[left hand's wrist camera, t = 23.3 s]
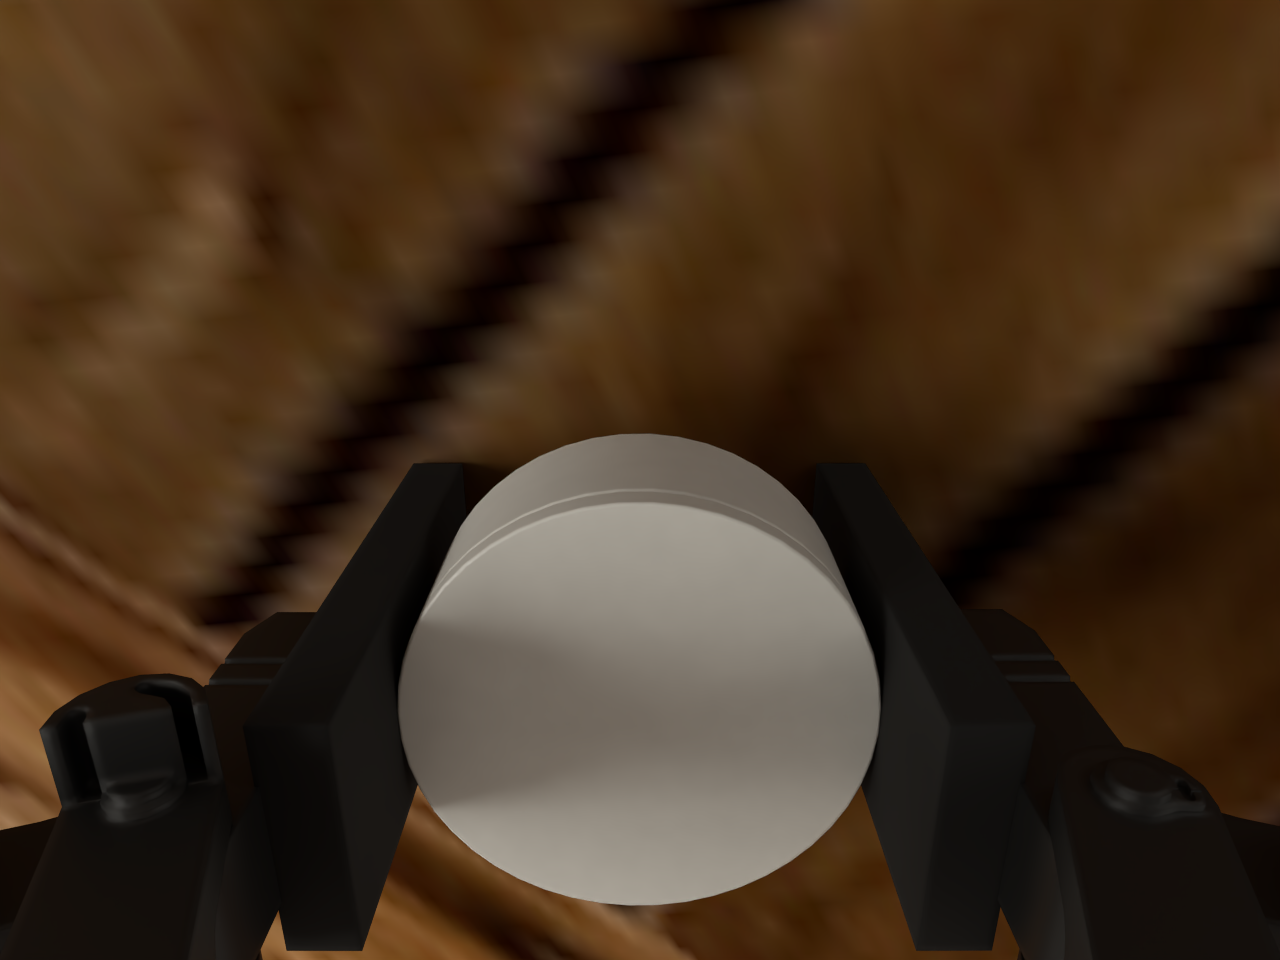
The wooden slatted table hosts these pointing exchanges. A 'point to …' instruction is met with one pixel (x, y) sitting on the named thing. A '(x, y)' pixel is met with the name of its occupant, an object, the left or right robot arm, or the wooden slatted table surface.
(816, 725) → the lid
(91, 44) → the wooden slatted table surface
